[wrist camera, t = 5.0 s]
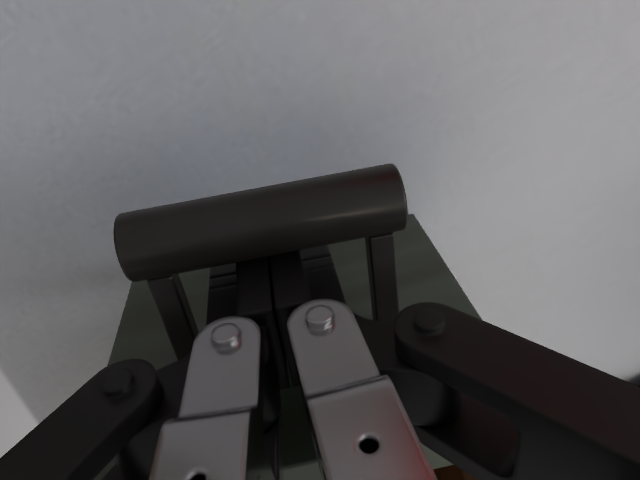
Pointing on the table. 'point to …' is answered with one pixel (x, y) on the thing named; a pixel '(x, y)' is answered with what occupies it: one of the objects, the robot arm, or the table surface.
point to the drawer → (272, 239)
